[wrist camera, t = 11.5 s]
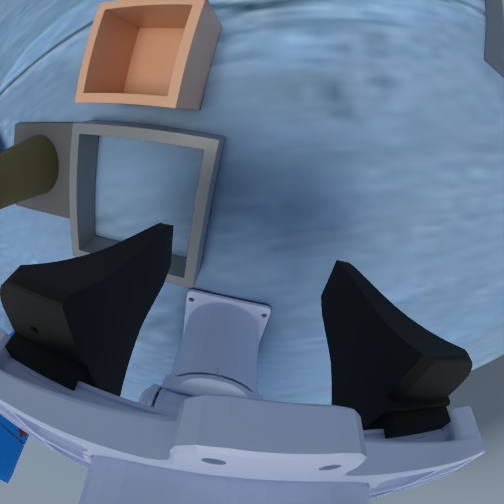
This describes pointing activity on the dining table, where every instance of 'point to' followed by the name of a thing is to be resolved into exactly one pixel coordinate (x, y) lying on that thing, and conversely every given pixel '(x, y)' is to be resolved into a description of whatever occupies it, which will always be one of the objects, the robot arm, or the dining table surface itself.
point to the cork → (27, 170)
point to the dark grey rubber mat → (61, 138)
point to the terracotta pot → (149, 53)
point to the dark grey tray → (495, 34)
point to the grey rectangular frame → (85, 177)
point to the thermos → (10, 445)
